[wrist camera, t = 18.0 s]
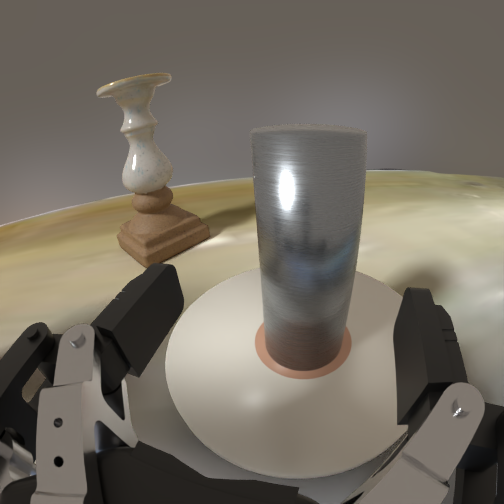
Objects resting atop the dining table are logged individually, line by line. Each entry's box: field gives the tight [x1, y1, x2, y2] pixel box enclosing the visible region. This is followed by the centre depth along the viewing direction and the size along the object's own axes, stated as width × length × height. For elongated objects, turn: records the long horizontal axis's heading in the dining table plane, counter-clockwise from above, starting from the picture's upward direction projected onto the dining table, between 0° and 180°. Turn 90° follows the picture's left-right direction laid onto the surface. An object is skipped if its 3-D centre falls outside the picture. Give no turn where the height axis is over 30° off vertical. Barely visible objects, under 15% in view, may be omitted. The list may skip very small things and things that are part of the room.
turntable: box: [165, 268, 408, 479], centre depth 20 cm, size 20×20×2 cm
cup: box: [250, 124, 367, 371], centre depth 16 cm, size 6×6×14 cm
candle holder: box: [97, 73, 210, 268], centre depth 35 cm, size 11×11×24 cm
